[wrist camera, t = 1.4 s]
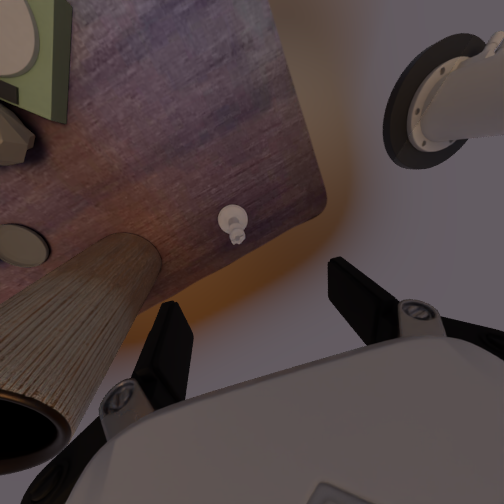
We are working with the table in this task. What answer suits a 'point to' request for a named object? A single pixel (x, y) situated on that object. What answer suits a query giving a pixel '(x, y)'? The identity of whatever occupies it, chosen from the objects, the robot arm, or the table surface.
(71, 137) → the table surface
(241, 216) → the chess piece
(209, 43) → the table surface
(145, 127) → the table surface
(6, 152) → the faceted club
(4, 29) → the scale
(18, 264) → the pocket watch
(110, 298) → the planter
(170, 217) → the table surface
